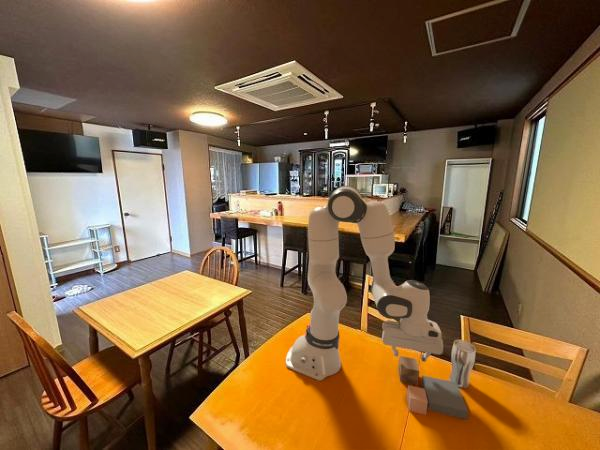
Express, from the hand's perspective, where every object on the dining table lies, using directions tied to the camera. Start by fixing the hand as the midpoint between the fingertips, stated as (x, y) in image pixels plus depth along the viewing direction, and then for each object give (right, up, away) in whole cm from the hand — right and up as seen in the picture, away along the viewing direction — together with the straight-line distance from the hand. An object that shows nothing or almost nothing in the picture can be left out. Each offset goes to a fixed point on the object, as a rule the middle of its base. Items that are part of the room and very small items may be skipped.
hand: (409, 357), depth 89 cm
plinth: (+8, -10, -8) cm, 15 cm away
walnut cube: (0, -8, +2) cm, 8 cm away
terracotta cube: (-2, -10, -10) cm, 15 cm away
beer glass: (+18, -9, 0) cm, 20 cm away
